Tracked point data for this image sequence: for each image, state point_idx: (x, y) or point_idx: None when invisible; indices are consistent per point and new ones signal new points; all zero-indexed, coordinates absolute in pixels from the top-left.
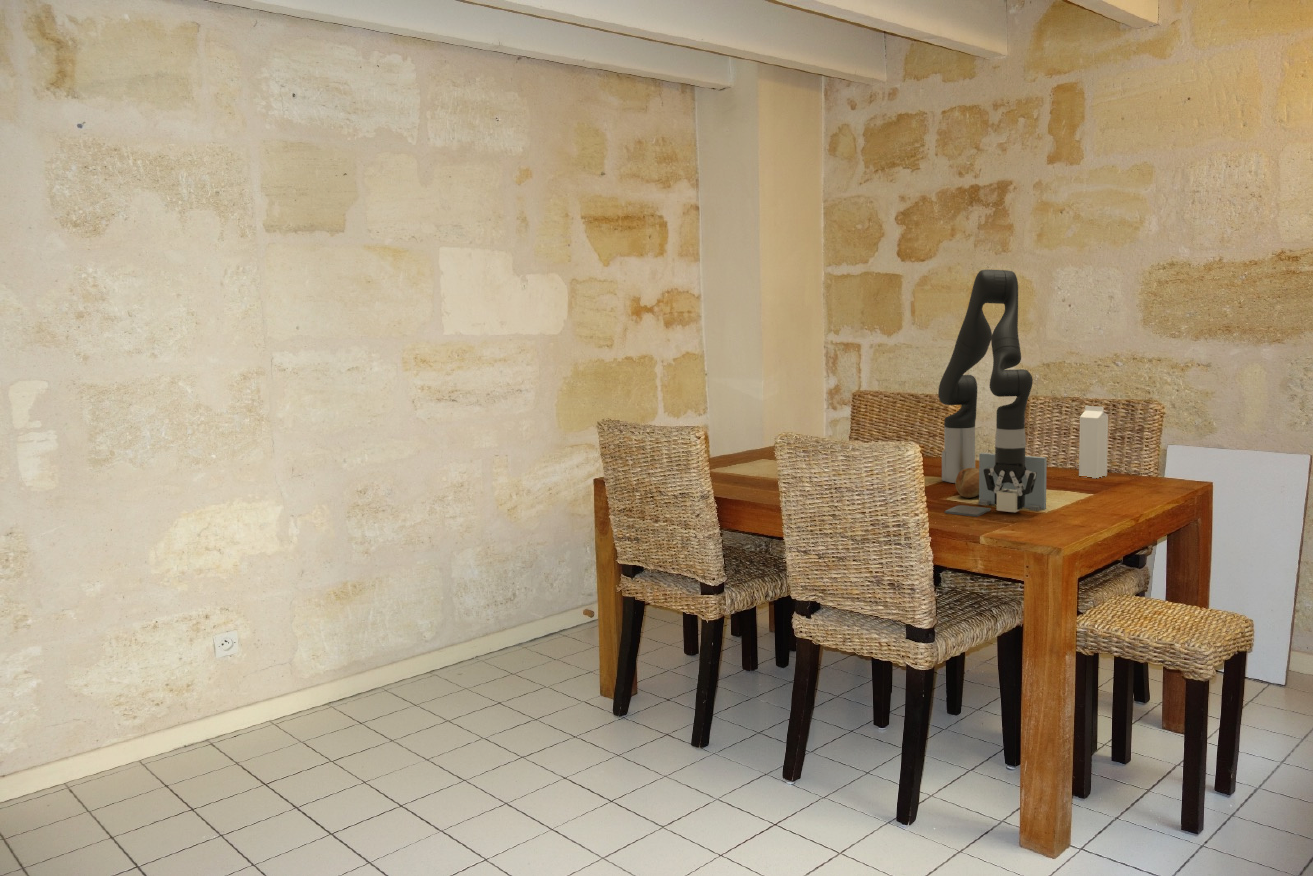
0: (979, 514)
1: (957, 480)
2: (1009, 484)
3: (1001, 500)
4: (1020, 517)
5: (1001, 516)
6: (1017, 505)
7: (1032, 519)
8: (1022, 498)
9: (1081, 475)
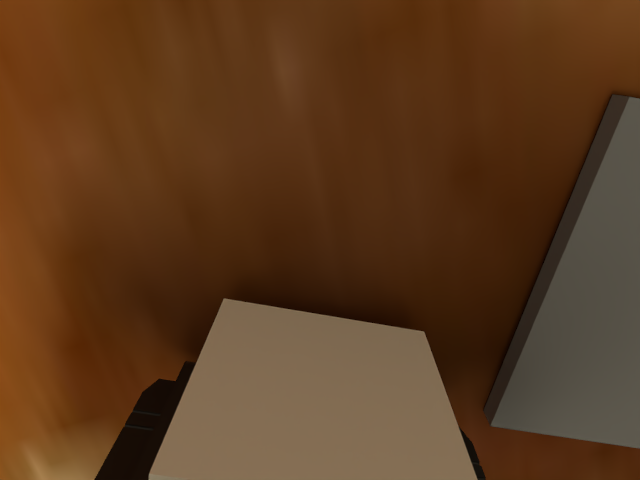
0: (592, 163)
1: None
2: None
3: (387, 405)
4: (159, 223)
5: (350, 208)
6: None
7: (16, 169)
8: (106, 467)
9: None
